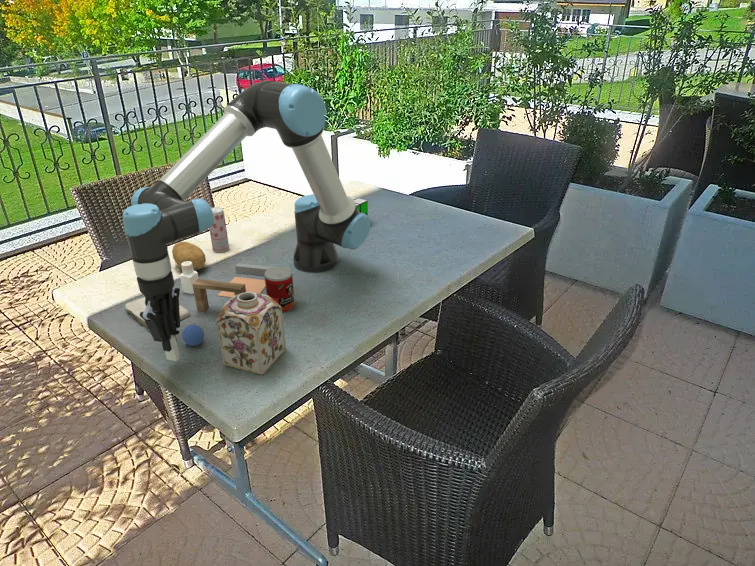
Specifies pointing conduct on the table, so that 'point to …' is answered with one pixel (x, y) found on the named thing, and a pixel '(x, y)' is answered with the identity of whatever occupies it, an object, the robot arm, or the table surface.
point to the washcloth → (140, 306)
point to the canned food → (280, 286)
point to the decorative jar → (251, 332)
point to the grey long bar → (251, 269)
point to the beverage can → (219, 231)
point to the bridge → (202, 285)
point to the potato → (188, 254)
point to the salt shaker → (188, 277)
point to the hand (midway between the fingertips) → (173, 358)
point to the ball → (193, 335)
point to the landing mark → (250, 285)
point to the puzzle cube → (361, 205)
